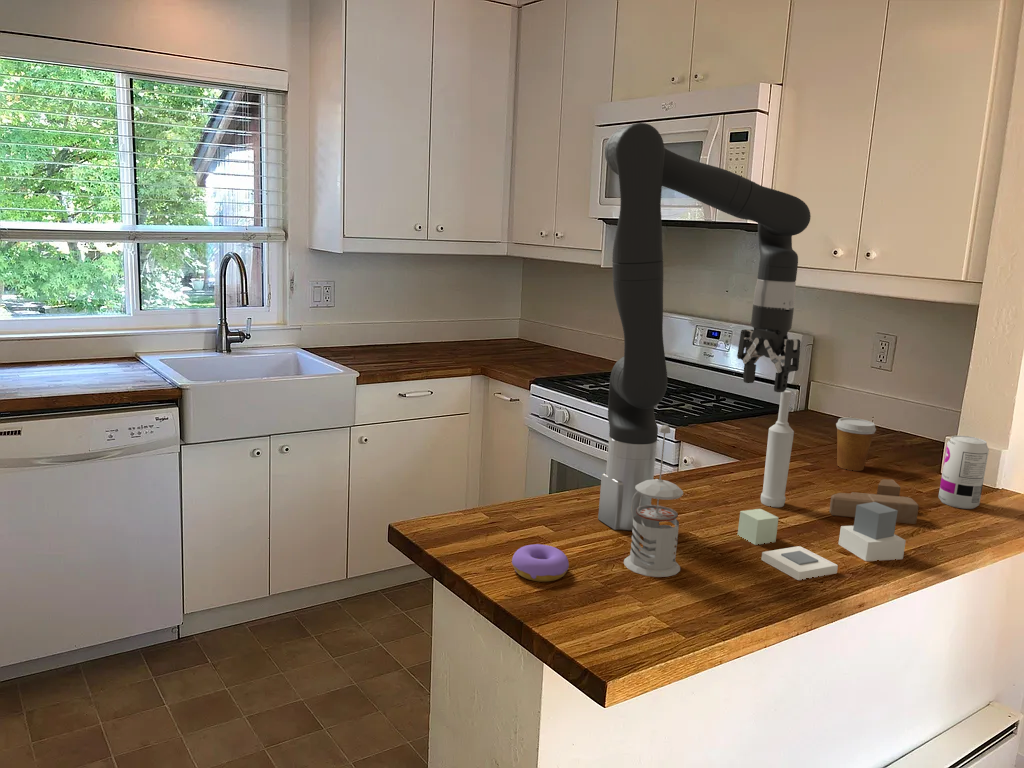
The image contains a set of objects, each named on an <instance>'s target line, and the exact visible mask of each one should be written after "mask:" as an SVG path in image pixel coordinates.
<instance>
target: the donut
mask: <svg viewBox="0 0 1024 768" xmlns="http://www.w3.org/2000/svg"><path fill="white" fill-rule="evenodd" d="M511 565H512V567H513V569H514V571H515V573H517V574H518V575H519V576H521V577H522V578H524V579H527V580H529V581H532V582H540V583H548V582H554V581H557V580H559V579H561V578H562V577H564V576H565V575H566V573H567V572H568V569H569V567H570V566H569V559H568V556H567V555H566V554H565V553H564V551H562V550H561V549H559V548H557V547H554V546H551V545H548V544H547V545H546V544H540V543H536V544H528V545H524V546H521V547H519V548H518V549H517V550H515V552H514V554H513V556H512V559H511Z"/></svg>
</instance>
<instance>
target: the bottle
mask: <svg viewBox="0 0 1024 768" xmlns="http://www.w3.org/2000/svg"><path fill="white" fill-rule="evenodd" d="M791 397H792V390H785V391H784V392H780V397H779V398H780V399H779V400H780V401H779V409H778V415H777V420H776V421H775V424H773V425H771V426H770V427H769V428H768V434H767V443H766V444H767V446H766V452H765V453H766V454H765V455H766V456H765V464H764V465H765V466H764V473H763V474H764V475H763V486H762V492H761V493H760V503H761V504H762V505H764V506H767V507H770V506H771V507H770V508H782V507H784V506H785V503H786V498H787V497H786V490H787V489H786V487H787V482H788V474H789V468H790V463H791V455H792V454H791V453H792V447H793V441H794V434H795V430H794V429H793V428H792V427H791V426H790V423H789V422H788V418H789V412H790V411H789V410H790V404H791V402H790V401H791Z"/></svg>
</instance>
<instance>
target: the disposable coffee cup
mask: <svg viewBox="0 0 1024 768" xmlns="http://www.w3.org/2000/svg"><path fill="white" fill-rule="evenodd" d="M835 426H836V429H837V430H836V431H837V433H836V434H837V435H836V436H837V438H836V448H837V450H836V454H837V455H836V458H837V459H836V462H837V463H836V466H837V467H838V466H839V468H841V469H843V470H846V469H847V470H848V471H852V470H853V471H855V472H857V471H859V472H860V471H863V470H864V469H865V465H866V462H867V458H868V455H869V450H870V447H871V444H872V440H873V436H874V434H875V433H876V432H877V428H876V424H875V423H874V421H870V420H867V419H862V418H856V417H840V418H839V419H838V420H837V422H836V423H835ZM847 470H846V471H847Z"/></svg>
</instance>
